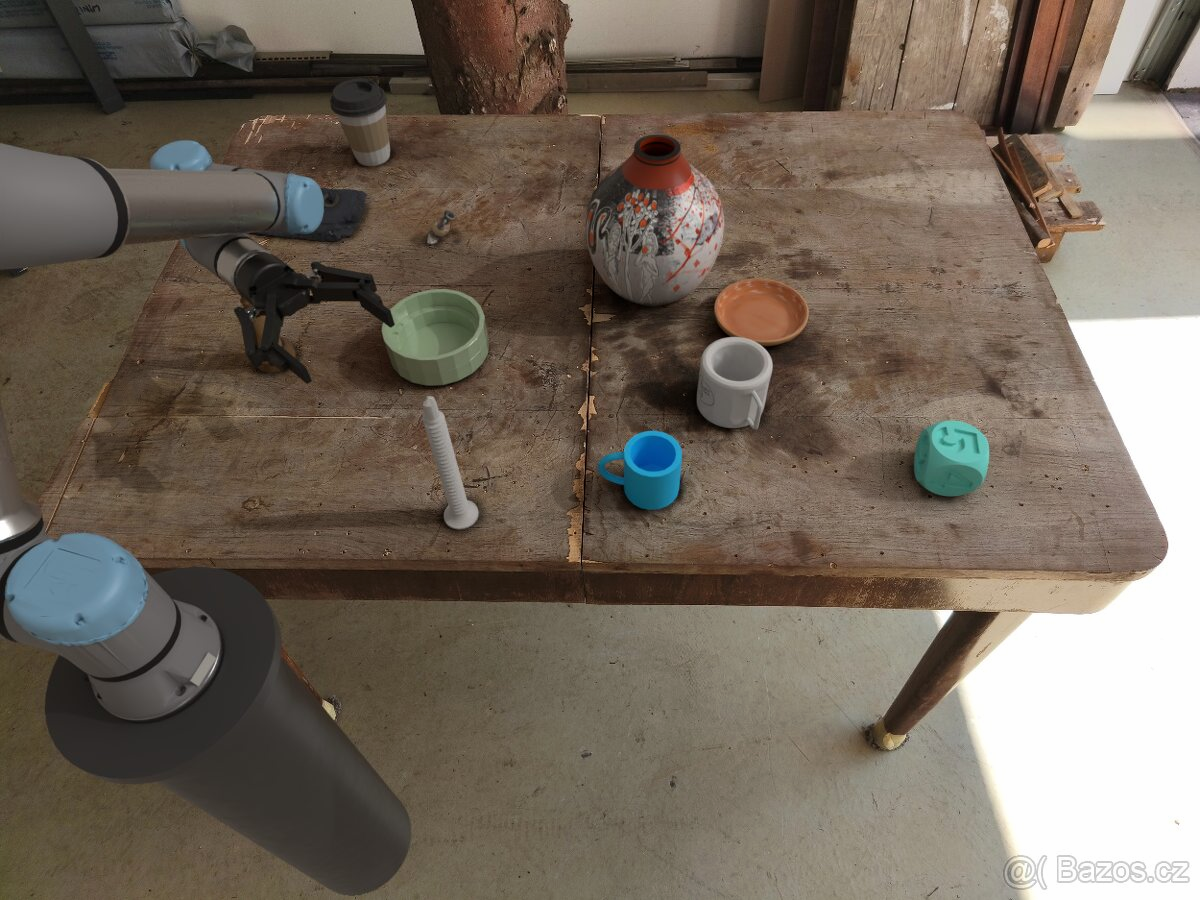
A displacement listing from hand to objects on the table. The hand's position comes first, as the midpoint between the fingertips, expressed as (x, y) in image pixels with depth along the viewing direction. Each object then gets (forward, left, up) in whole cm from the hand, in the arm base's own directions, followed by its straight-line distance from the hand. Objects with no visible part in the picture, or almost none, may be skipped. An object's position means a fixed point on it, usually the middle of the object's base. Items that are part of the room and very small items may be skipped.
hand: (349, 346), depth 105 cm
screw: (+12, -11, -24) cm, 29 cm away
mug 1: (+38, -7, -24) cm, 45 cm away
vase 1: (+4, +53, -24) cm, 58 cm away
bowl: (+6, +22, -23) cm, 32 cm away
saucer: (+61, +27, -24) cm, 70 cm away
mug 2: (+54, +7, -24) cm, 59 cm away
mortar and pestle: (-22, +22, -24) cm, 39 cm away
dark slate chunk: (-24, +62, -24) cm, 70 cm away
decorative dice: (+83, -7, -24) cm, 86 cm away
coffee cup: (-14, +82, -24) cm, 86 cm away
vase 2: (+43, +37, -24) cm, 61 cm away
